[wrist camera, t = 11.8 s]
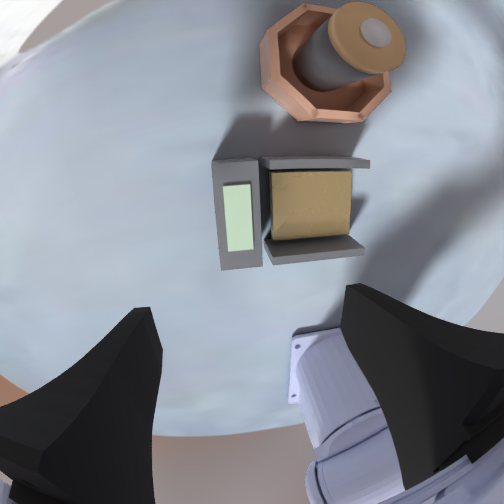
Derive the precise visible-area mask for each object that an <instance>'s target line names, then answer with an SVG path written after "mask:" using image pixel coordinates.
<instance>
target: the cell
mask: <svg viewBox="0 0 504 504" xmlns="http://www.w3.org/2000/svg"><path fill="white" fill-rule="evenodd" d="M405 55H406V44H405V39H404V36H403V34H402V32H401V30H400V28H399V27H398V25H397V24H396V22H395V21H394V20H393V19H392V18H391V17H390V16H389V15H388V14H387V13H386V12H384V11H383V10H381V9H380V8H378V7H376V6H374V5H372V4H369V3H365V2H359V1H356V2H349V3H346V4H344V5H343V6H342V7H340V8H339V9H338V10H337V11H336V12H335V13H334V14H333V15H332V16H331V17H329V18H328V19H327V20H326V21H325V22H324V23H323V24H322V25H321V26H320V27H319V28H318V29H317V30H316V31H315V32H314V33H313V34H312V35H311V36H310V37H309V38H308V39H307V40H306V41H305V42H304V43H303V44H302V45H301V46H300V47H299V48H298V49H297V50H296V51H295V53H294V55H293V58H292V67H293V71H294V73H295V75H296V77H297V78H298V80H299V81H300V82H301V83H302V84H303V85H305V86H306V87H308V88H310V89H312V90H315V91H319V92H328V91H332V90H334V89H337V88H340V87H342V86H345V85H348V84H350V83H353V82H356V81H359V80H362V79H365V78H368V77H371V76H374V75H377V74H380V73H383V72H387V71H390V70H393V69H396V68H397V67H399V66H400V65H401V64H402V62H403V61H404V58H405Z"/></svg>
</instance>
